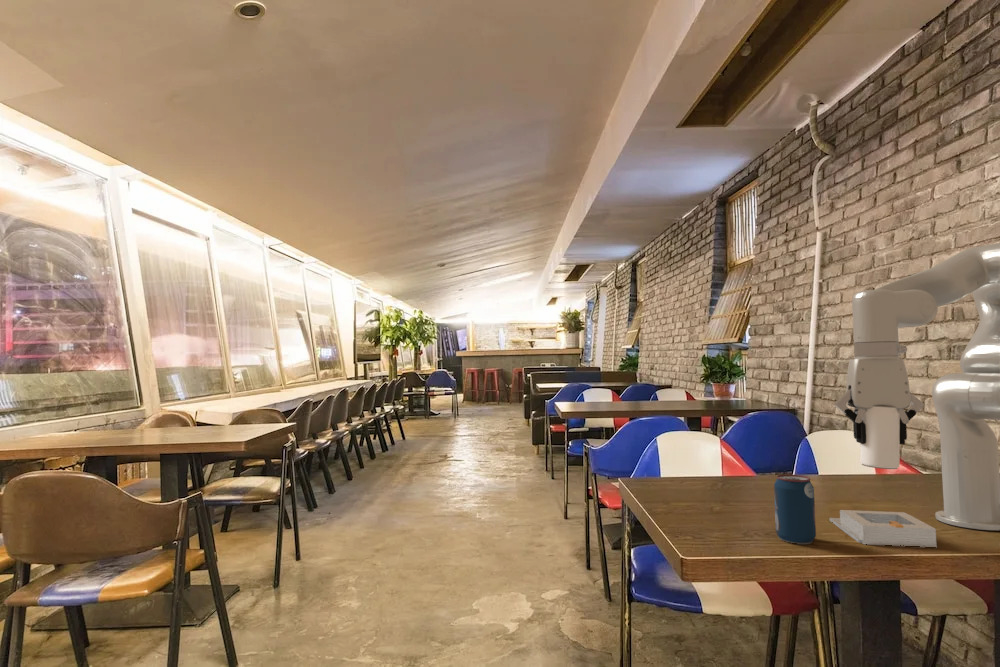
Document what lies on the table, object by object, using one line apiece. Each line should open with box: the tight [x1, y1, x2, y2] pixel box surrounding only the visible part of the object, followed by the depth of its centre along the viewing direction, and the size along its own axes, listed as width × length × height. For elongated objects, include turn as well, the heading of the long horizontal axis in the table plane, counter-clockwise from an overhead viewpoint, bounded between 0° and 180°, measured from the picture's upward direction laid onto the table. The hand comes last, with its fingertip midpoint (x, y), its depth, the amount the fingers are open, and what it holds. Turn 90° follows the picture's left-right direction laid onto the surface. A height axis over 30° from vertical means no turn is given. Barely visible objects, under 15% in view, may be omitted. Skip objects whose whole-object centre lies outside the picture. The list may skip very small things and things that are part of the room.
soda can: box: [773, 474, 817, 545], centre depth 111 cm, size 7×7×12 cm
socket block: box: [829, 509, 938, 549], centre depth 115 cm, size 13×17×4 cm
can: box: [859, 406, 901, 470], centre depth 113 cm, size 6×6×12 cm
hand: (880, 442), depth 113 cm, fingers closed on can, 6 cm apart
